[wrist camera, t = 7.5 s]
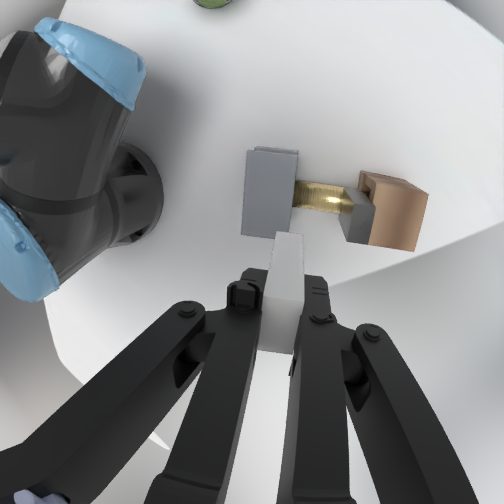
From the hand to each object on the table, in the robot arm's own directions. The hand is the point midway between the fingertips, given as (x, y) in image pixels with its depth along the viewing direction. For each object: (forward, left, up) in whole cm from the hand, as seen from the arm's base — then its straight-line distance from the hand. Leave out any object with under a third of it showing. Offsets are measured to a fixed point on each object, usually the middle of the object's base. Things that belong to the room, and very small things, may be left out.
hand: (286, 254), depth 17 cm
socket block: (+11, 0, -21) cm, 23 cm away
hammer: (+5, 0, -18) cm, 19 cm away
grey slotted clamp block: (-3, 0, -21) cm, 21 cm away
